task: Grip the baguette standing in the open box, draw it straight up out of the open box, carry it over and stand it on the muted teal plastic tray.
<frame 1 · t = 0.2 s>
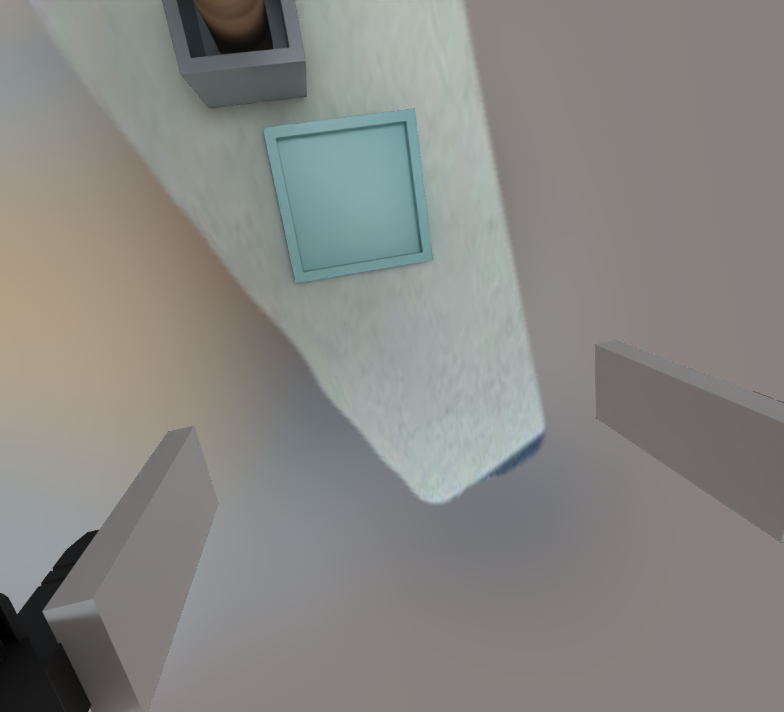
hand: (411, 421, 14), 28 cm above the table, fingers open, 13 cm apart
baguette: (245, 41, 33), point 1 cm above the table, touching open box
open box: (246, 46, 34), on the table
tray: (351, 199, 39), on the table
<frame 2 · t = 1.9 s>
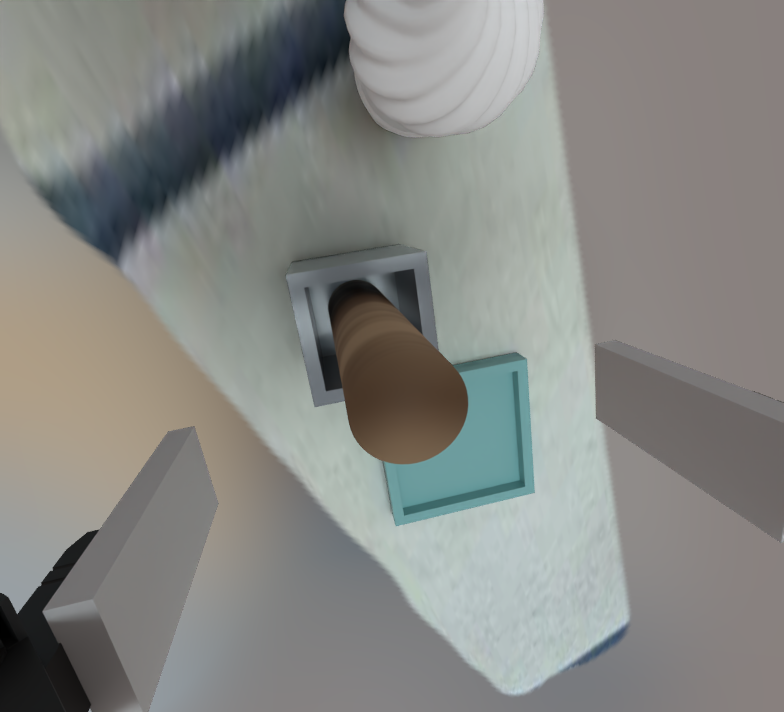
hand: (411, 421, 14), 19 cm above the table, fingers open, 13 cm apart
soft serve ice cream cone: (396, 97, 29), on the table
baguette: (356, 308, 32), point 1 cm above the table, touching open box
open box: (355, 305, 33), on the table
tray: (452, 435, 37), on the table
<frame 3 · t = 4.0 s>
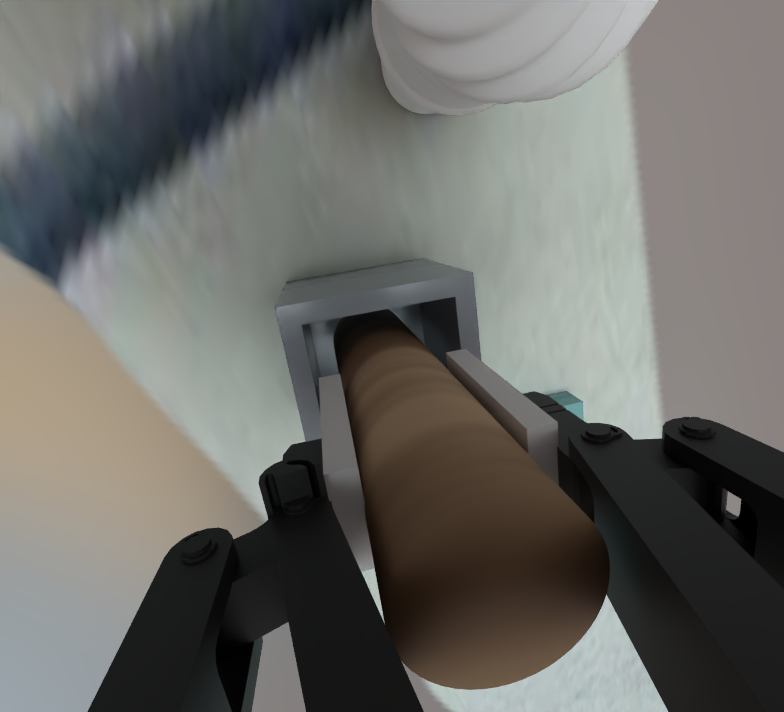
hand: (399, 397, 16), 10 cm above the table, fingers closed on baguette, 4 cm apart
soft serve ice cream cone: (422, 69, 22), on the table
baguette: (370, 340, 25), point 1 cm above the table, touching open box, gripper
open box: (367, 336, 26), on the table
tray: (486, 492, 30), on the table
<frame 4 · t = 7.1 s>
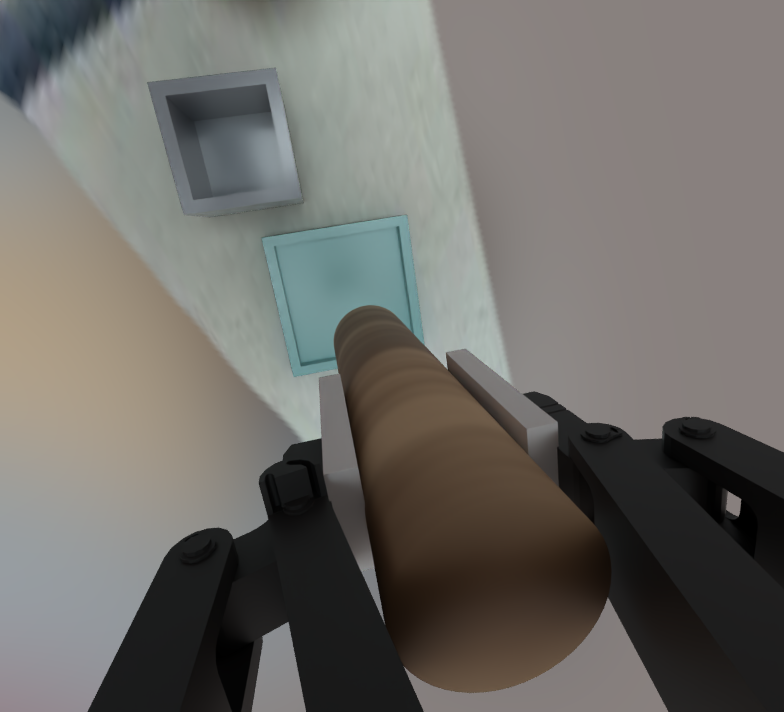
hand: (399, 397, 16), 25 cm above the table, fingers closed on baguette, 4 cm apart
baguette: (370, 341, 25), point 16 cm above the table, touching gripper
open box: (246, 160, 36), on the table
tray: (347, 295, 40), on the table
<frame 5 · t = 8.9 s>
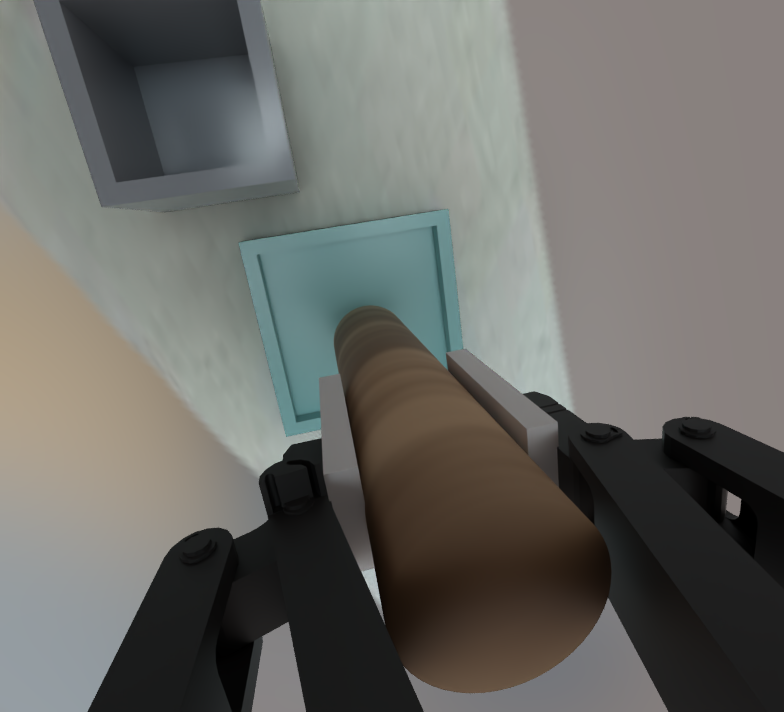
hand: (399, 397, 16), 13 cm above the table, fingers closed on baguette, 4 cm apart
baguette: (370, 341, 25), point 5 cm above the table, touching gripper
open box: (215, 129, 24), on the table
tray: (360, 321, 29), on the table
when the fingers open (11 cm above the table, at t = 10.2 s): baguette drops 1 cm, resting on tray.
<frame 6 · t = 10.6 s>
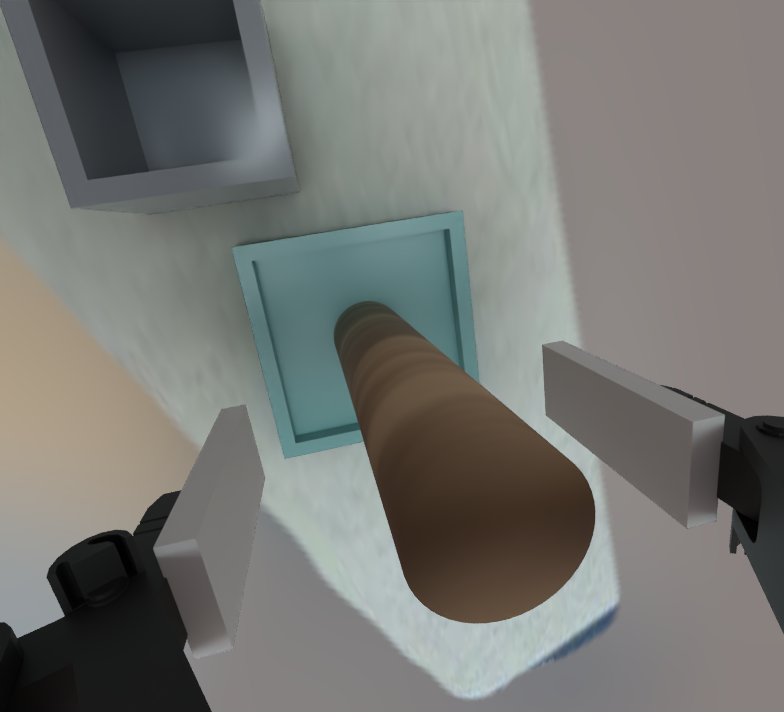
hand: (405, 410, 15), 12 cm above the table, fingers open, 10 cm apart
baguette: (368, 335, 26), point 1 cm above the table, touching tray
open box: (206, 122, 22), on the table
tray: (365, 332, 27), on the table
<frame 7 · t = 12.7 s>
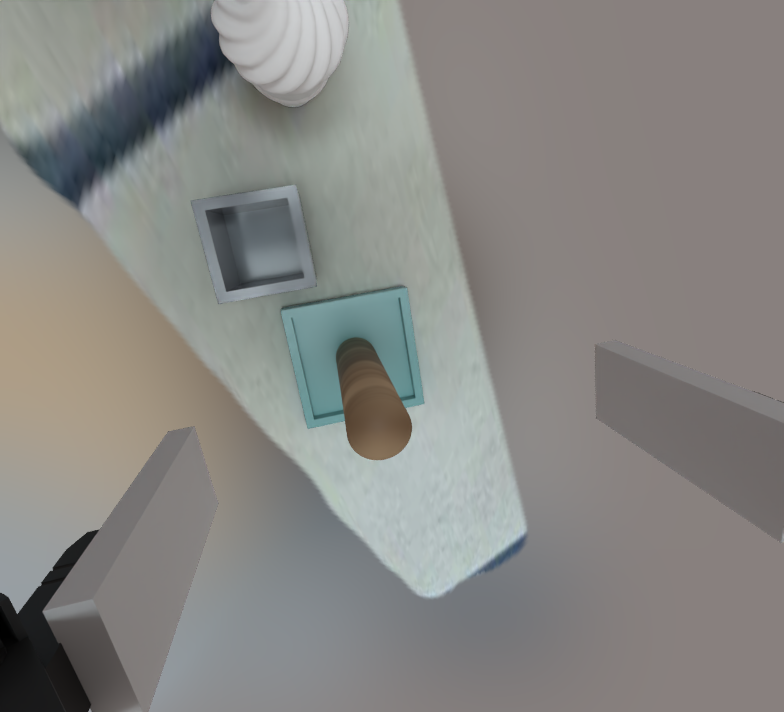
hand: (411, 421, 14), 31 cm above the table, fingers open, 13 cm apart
soft serve ice cream cone: (290, 81, 39), on the table
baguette: (356, 357, 45), point 1 cm above the table, touching tray
open box: (267, 244, 41), on the table
tray: (354, 355, 45), on the table
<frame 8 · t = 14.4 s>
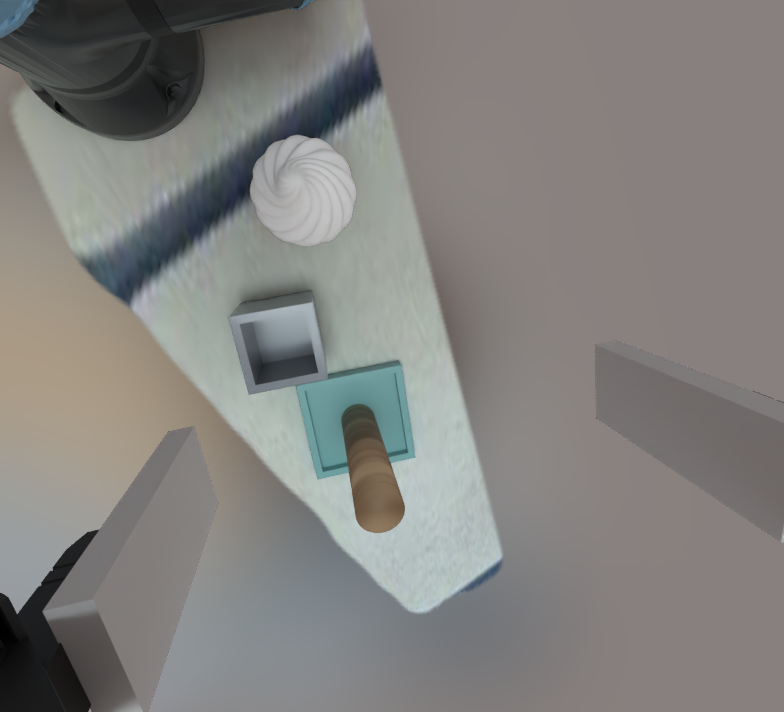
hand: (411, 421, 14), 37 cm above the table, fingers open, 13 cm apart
soft serve ice cream cone: (305, 200, 47), on the table
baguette: (358, 419, 53), point 1 cm above the table, touching tray
open box: (284, 330, 50), on the table
tray: (357, 417, 54), on the table
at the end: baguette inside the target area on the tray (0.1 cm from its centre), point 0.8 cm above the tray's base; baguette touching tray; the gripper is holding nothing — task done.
